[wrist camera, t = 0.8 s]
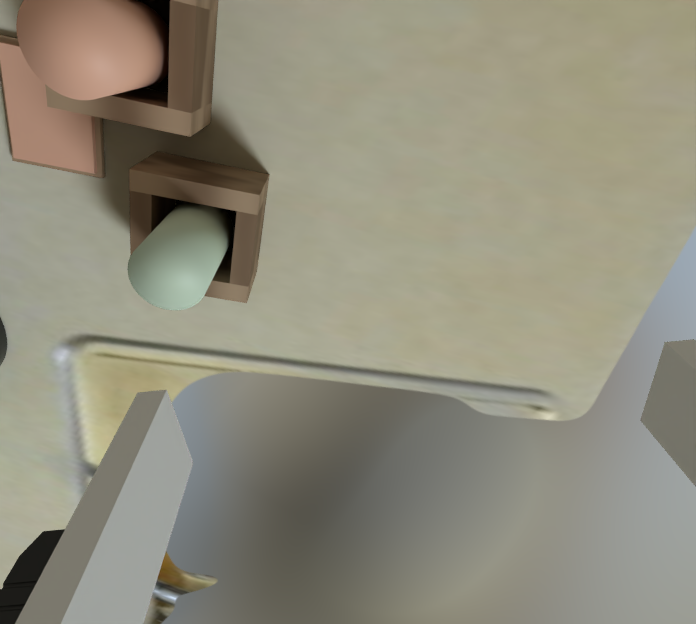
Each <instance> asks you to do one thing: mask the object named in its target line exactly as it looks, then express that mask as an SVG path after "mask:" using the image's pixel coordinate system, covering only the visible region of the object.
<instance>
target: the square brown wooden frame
mask: <svg viewBox="0 0 696 624" xmlns="http://www.w3.org/2000/svg"><path fill="white" fill-rule="evenodd" d="M268 181H269V174H265V173H260V172H255V171H250V170H245V169H240V168H235V167H231V166H226V165H221V164H216V163H211V162H206V161H201V160H197V159H192V158H187V157H182V156H177V155H172V154H167V153H163V152H158V151H157V152H155V153H154V154H152V155H151V156H149V157H147V158H146V159H144V160H143V161H141V162H140V163H138V164H136V165H135V166H133V167H132V168H130V169H129V192H130V245H131V255H132V253H133V252H134V251H135V249H136V248H137V247H138V246H139V245H140V244H141V243H142V242H143V241H144V240H145V239H146V238H147V237H148V235H149V234H150V233H151V232H152V231H153V230H154V229H155V228H156V227H157V226H158V225H159V224H160V223H161V222H162V221H163V220H164V218H165V217H166V216H167V215H168V214H169V213H170V212H171V211H172V210H173V209H174V208H175V199H177V200H182V201H187V202H192V203H197V204H202V205H208V206H213V207H218V208H223V209H228V210H233V211H237V213H236V223H235V233H234V243H233V252H231V251H226V253H225V255H224V257H223V259H222V261H221V263H220V265H219V267H218V269H217V271H216V273H215V275H214V277H213V279H212V281H211V283H210V285H209V287H208V289H207V291H206V293H205V295H204V296H208V297H214V298H220V299H226V300H232V301H238V302H244V303H247V300H248V297H249V294H250V291H251V288H252V285H253V282H254V279H255V275H256V272H257V266H258V258H259V251H260V243H261V235H262V228H263V220H264V212H265V204H266V197H267V189H268Z"/></svg>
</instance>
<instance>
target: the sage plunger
mask: <svg viewBox="0 0 696 624" xmlns="http://www.w3.org/2000/svg"><path fill="white" fill-rule="evenodd" d="M233 232H234V229H233V223H232V220H231V218H230V216H229V214H228V213H227V211H226V210H225V209H223V208H218V207H213V206H208V205H202V204H197V203H192V202H187V201H181V202H180V203H179V204H178V205H177V206H176V207H175V208H174V209H173V210H172V211H171V212H170V213H169V214H168V215H167V216H166V217H165V218H164V220H163V221H162V222H161V223H160V224H159V225H158V226H157V227H156V228H155V229H154V230H153V231H152V232H151V233H150V234H149V235H148V237H147V238H146V239H145V240H144V241H143V242H142V243H141V244H140V245H139V246H138V247H137V248H136V249H135V251H134V252H133V253H132V255H131V256H130V259H129V262H128V275H129V279H130V282H131V284H132V286H133V288H134V289H135V290H136V292H137V293H138V294H139V295H140V296H141V297H142V298H143V299H144V300H146V301H147V302H149V303H150V304H152V305H154V306H156V307H159V308H162V309H167V310H183V309H187V308H190V307H192V306H194V305H196V304H197V303H198V302H199V301H200V300H201V299H202V298H203V297H204V295H205V293H206V291H207V289H208V287H209V285H210V283H211V281H212V279H213V277H214V275H215V273H216V271H217V269H218V267H219V265H220V263H221V261H222V259H223V257H224V255H225V253H226V251H227V249H228V247H229V245H230V243H231V241H232V238H233Z"/></svg>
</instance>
